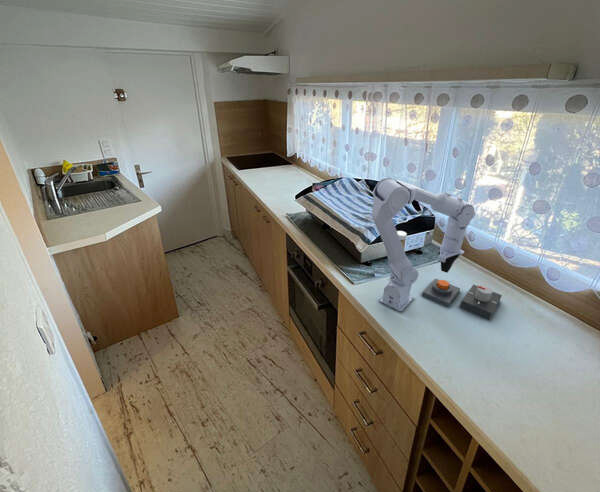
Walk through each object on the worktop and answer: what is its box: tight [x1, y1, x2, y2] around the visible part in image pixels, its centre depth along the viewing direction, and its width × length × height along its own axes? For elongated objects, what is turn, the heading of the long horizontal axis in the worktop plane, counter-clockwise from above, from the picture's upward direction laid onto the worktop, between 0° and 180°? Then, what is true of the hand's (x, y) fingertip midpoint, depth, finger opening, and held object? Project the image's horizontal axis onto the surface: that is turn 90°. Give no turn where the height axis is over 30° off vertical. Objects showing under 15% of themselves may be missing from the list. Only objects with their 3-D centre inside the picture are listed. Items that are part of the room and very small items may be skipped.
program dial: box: [475, 284, 494, 302], centre depth 101 cm, size 4×4×4 cm
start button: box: [437, 279, 450, 290], centre depth 107 cm, size 4×4×2 cm
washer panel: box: [459, 284, 502, 321], centre depth 103 cm, size 12×9×3 cm
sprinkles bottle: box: [396, 230, 408, 250], centre depth 125 cm, size 5×5×14 cm
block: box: [421, 277, 461, 308], centre depth 108 cm, size 11×9×4 cm
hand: (444, 270), depth 105 cm, fingers closed
